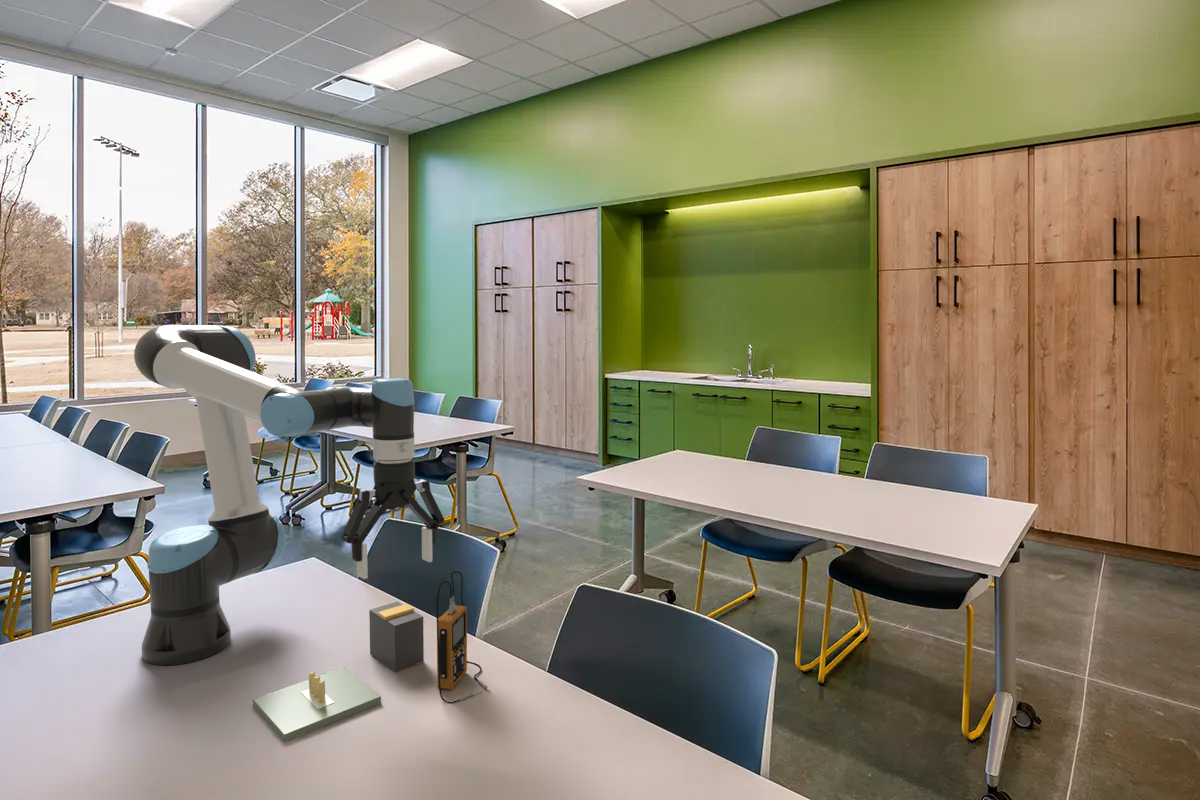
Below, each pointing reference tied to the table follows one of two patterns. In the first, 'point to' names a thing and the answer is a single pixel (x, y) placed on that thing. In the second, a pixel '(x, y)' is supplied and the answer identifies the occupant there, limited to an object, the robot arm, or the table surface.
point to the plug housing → (396, 635)
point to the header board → (315, 702)
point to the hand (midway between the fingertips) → (396, 568)
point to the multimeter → (452, 645)
